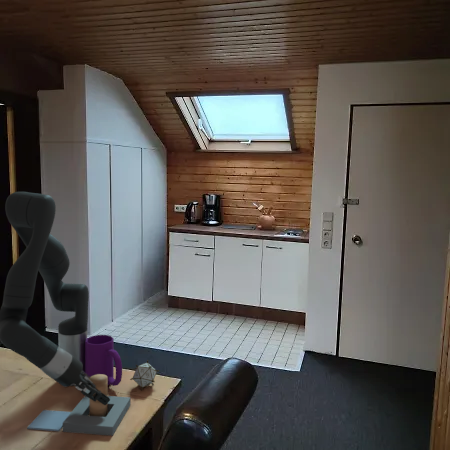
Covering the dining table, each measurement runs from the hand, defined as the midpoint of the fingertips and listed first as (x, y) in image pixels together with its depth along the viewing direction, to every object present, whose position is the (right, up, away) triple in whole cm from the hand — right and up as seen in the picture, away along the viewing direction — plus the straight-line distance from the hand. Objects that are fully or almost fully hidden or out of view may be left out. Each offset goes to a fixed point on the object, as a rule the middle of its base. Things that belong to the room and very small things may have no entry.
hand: (104, 397), depth 128 cm
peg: (-2, -6, 0) cm, 6 cm away
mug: (-5, -4, +19) cm, 20 cm away
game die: (+8, -4, +19) cm, 21 cm away
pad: (-15, -6, -3) cm, 16 cm away
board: (-2, -6, 0) cm, 6 cm away
